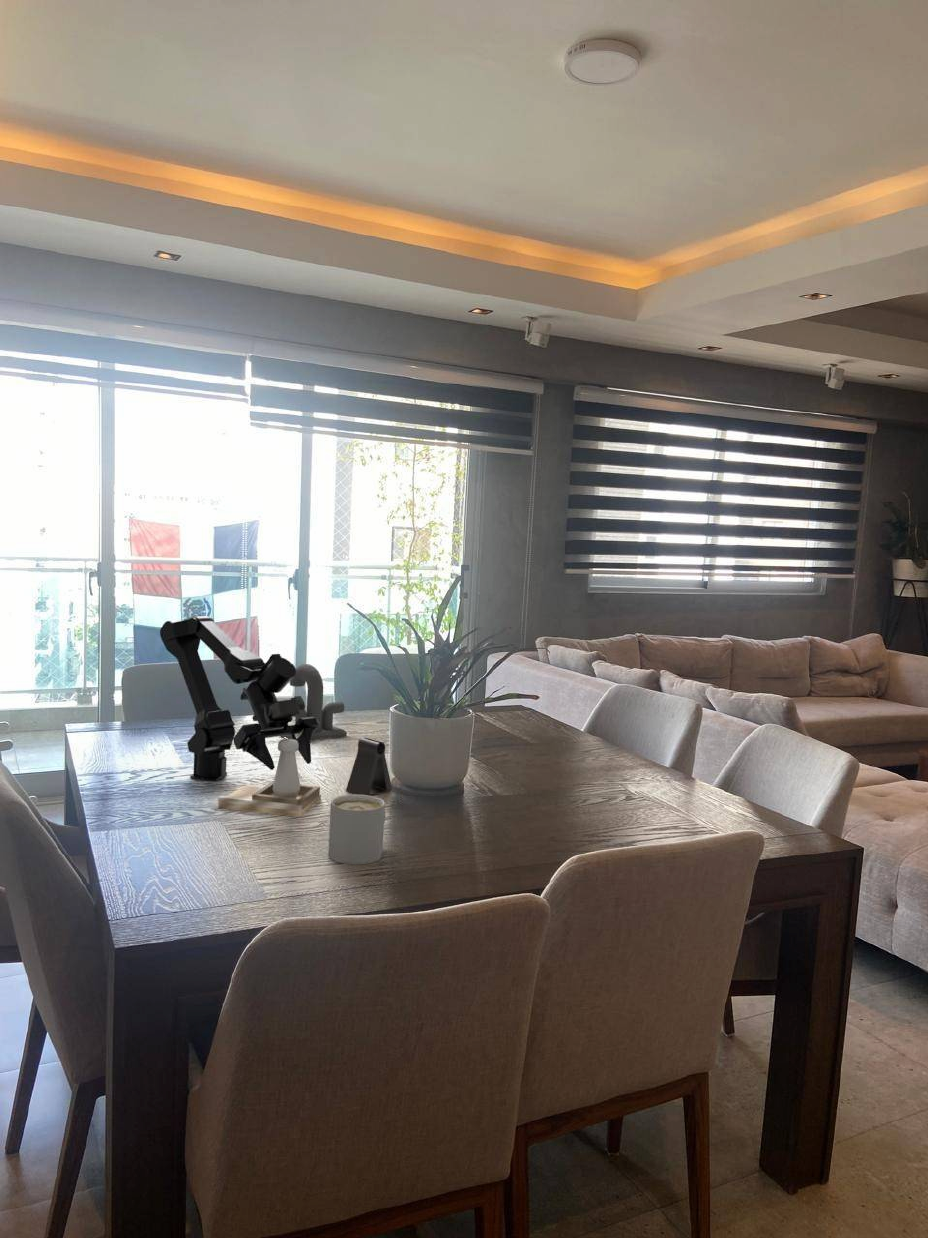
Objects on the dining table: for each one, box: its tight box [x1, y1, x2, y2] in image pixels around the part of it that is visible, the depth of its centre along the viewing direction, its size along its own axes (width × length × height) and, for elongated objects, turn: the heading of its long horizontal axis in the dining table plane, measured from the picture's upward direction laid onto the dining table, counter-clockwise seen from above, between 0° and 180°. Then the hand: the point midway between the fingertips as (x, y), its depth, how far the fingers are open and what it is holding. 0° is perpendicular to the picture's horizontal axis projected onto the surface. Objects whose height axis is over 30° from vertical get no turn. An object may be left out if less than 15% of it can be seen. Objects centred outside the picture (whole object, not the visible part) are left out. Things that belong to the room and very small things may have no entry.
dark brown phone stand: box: [345, 737, 393, 797], centre depth 214 cm, size 9×6×12 cm, turn 139°
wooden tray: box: [217, 780, 322, 818], centre depth 201 cm, size 18×13×3 cm
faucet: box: [281, 663, 348, 741], centre depth 267 cm, size 18×16×20 cm
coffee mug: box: [327, 794, 386, 865], centre depth 174 cm, size 13×10×10 cm
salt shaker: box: [273, 738, 301, 798], centre depth 200 cm, size 6×6×13 cm
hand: (291, 765), depth 198 cm, fingers open, 9 cm apart
